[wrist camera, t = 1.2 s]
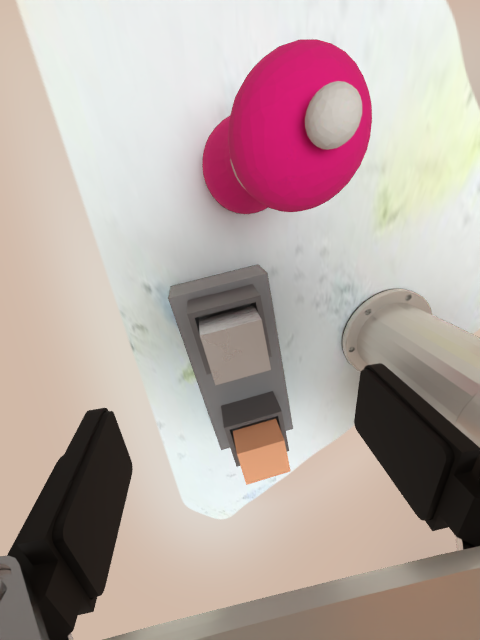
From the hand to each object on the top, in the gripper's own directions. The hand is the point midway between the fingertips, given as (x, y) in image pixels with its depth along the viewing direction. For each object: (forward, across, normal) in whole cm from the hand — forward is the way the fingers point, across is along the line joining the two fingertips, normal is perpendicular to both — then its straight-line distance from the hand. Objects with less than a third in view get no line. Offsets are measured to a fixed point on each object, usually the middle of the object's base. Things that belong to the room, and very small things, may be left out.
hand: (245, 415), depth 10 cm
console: (+22, -2, +11) cm, 24 cm away
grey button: (+14, -1, +4) cm, 15 cm away
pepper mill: (+22, -4, -10) cm, 24 cm away
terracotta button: (+14, -3, +18) cm, 23 cm away
